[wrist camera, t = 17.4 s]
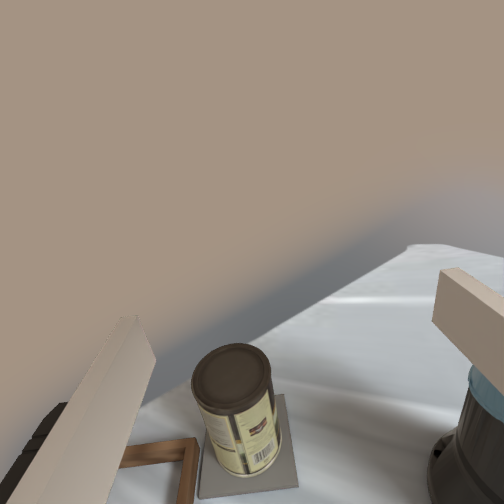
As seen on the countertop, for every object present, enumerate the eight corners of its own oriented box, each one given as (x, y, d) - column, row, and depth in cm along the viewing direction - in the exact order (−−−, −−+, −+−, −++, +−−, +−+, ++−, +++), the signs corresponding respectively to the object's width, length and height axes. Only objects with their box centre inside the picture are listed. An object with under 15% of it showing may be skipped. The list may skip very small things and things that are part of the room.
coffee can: (237, 397, 48) (221, 335, 42) (292, 421, 43) (283, 354, 37) (199, 456, 40) (173, 391, 34) (262, 495, 35) (244, 425, 29)
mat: (284, 396, 47) (283, 393, 47) (298, 487, 35) (298, 484, 35) (209, 406, 48) (209, 404, 47) (199, 499, 36) (198, 497, 36)
